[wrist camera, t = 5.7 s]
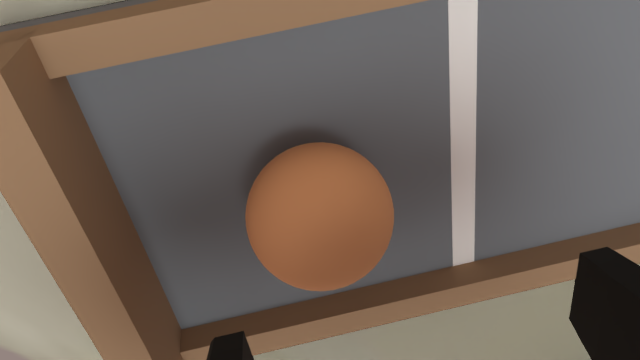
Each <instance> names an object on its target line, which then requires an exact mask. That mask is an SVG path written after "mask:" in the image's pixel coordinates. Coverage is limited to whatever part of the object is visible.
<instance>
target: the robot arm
mask: <svg viewBox="0 0 640 360" xmlns="http://www.w3.org/2000/svg"><path fill="white" fill-rule="evenodd" d="M569 319H570V321H571V323H572V325H573V327H574V328H575V330H576V332H577V334H578V336H579V338H580V340H581V342H582V343H583V345H584V347H585V349H586V350H587V352H588V354H589V356H590V357H591V359H592V360H640V266H639V265H638V264H636V263H634V262H633V261H631V260H629V259H628V258H626V257H624V256H623V255H621V254H619V253H618V252H616V251H614V250H612V249H611V248H609V247H603V248H599V249H595V250H591V251H586V252H582V253H580V254H579V260H578V267H577V273H576V279H575V285H574V292H573V298H572V304H571V311H570V317H569ZM206 360H254V358H253V356H252V353H251V350H250V347H249V344H248V342H247V339H246V336H245V333H244V331H240V332H236V333H232V334H228V335H223V336H219V337H215V338H214V339H213V340H212V341H211V343H210V347H209V351H208V355H207V359H206Z"/></svg>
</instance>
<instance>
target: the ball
mask: <svg viewBox="0 0 640 360" xmlns="http://www.w3.org/2000/svg"><path fill="white" fill-rule="evenodd" d="M245 220H246V230H247V234H248V238H249V241H250V244H251V246H252V249H253V251H254V252H255V254H256V256H257V258H258V259H259V261H260V262H261V263H262V264H263V266H264V267H265V268H266V269H267V270H268V271H269V272H270V273H272V274H273V275H274V276H275V277H277V278H278V279H279V280H281V281H283V282H285V283H287V284H289V285H291V286H293V287H296V288H300V289H304V290H309V291H330V290H336V289H339V288H343V287H346V286H348V285H351V284H353V283H355V282H356V281H358V280H360V279H361V278H363V277H364V276H366V275H367V274H368V273H369V272H370V271H371V270H372V269H373V268H374V267H375V266H376V265H377V264H378V262H379V261H380V260H381V258H382V256H383V255H384V253H385V251H386V250H387V247H388V245H389V242H390V239H391V236H392V232H393V226H394V208H393V202H392V197H391V194H390V191H389V188H388V186H387V184H386V182H385V180H384V179H383V177H382V175H381V174H380V173H379V171H378V170H377V169H376V168H375V166H374V165H373V164H372V163H371V162H370V161H368V160H367V159H366V158H365V157H363V156H362V155H361V154H359V153H357V152H356V151H354V150H352V149H350V148H347V147H344V146H341V145H338V144H333V143H325V142H315V143H306V144H302V145H298V146H295V147H292V148H290V149H288V150H286V151H284V152H282V153H281V154H279V155H277V156H276V157H275V158H274V159H272V160H271V161H270V162H269V163H268V164H267V165H266V166H265V167H264V168H263V169H262V170H261V172H260V173H259V175H258V176H257V178H256V179H255V181H254V183H253V185H252V187H251V190H250V192H249V195H248V199H247V204H246V213H245Z"/></svg>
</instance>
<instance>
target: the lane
mask: <svg viewBox="0 0 640 360" xmlns="http://www.w3.org/2000/svg"><path fill="white" fill-rule="evenodd" d="M315 142H325V143H333V144H338V145H341V146H344V147H347V148H350V149H352V150H354V151H356V152H357V153H359V154H361V155H362V156H363V157H365V158H366V159H367V160H368V161H370V162H371V163H372V164H373V165H374V166H375V168H376V169H377V170H378V171H379V173H380V174H381V175H382V177H383V179H384V180H385V182H386V184H387V186H388V188H389V191H390V194H391V197H392V202H393V208H394V226H393V232H392V236H391V239H390V242H389V245H388V247H387V250H386V251H385V253H384V255H383V256H382V258H381V260H380V261H379V262H378V264H377V265H376V266H375V267H374V268H373V269H372V270H371V271H370V272H369V273H368V274H367V275H366V276H364V277H363V278H361V279H360V280H358V281H356V282H355V283H353V284H351V285H348V286H346V287H343V288H339V289H336V290H330V291H309V290H304V289H300V288H296V287H293V286H291V285H289V284H287V283H285V282H283V281H281V280H279V279H278V278H277V277H275V276H274V275H273V274H272V273H270V272H269V271H268V270H267V269H266V268H265V267H264V266H263V264H262V263H261V262H260V261H259V259H258V258H257V256H256V254H255V252H254V251H253V249H252V246H251V244H250V241H249V238H248V234H247V230H246V220H245V213H246V204H247V199H248V195H249V192H250V190H251V187H252V185H253V183H254V181H255V179H256V178H257V176H258V175H259V173H260V172H261V170H262V169H263V168H264V167H265V166H266V165H267V164H268V163H269V162H270V161H271V160H272V159H274V158H275V157H276V156H277V155H279V154H281V153H282V152H284V151H286V150H288V149H290V148H292V147H295V146H298V145H302V144H306V143H315ZM0 191H1V193H2V195H3V196H4V198H5V199H6V201H7V203H8V204H9V206H10V208H11V209H12V211H13V213H14V214H15V216H16V217H17V219H18V221H19V222H20V224H21V226H22V227H23V229H24V231H25V232H26V234H27V235H28V237H29V239H30V240H31V242H32V244H33V245H34V247H35V248H36V250H37V252H38V253H39V255H40V257H41V258H42V260H43V262H44V263H45V265H46V266H47V268H48V270H49V271H50V273H51V275H52V276H53V278H54V280H55V281H56V283H57V284H58V286H59V288H60V289H61V291H62V293H63V294H64V296H65V298H66V299H67V301H68V302H69V304H70V306H71V307H72V309H73V311H74V312H75V314H76V315H77V317H78V319H79V320H80V322H81V324H82V325H83V327H84V329H85V330H86V332H87V333H88V335H89V337H90V338H91V340H92V342H93V343H94V345H95V347H96V348H97V350H98V351H99V353H100V355H101V356H102V358H103V360H206V359H207V355H208V351H209V347H210V343H211V341H212V340H213V339H214V338H215V337H219V336H223V335H228V334H232V333H236V332H240V331H244V333H245V336H246V339H247V342H248V344H249V347H250V350H251V353H252V356H253V355H257V354H261V353H266V352H270V351H274V350H278V349H282V348H287V347H291V346H295V345H299V344H303V343H308V342H312V341H316V340H320V339H324V338H329V337H333V336H337V335H341V334H346V333H350V332H354V331H358V330H362V329H367V328H371V327H375V326H379V325H383V324H388V323H392V322H396V321H400V320H404V319H409V318H413V317H417V316H421V315H426V314H430V313H434V312H438V311H442V310H447V309H451V308H455V307H459V306H463V305H468V304H472V303H476V302H480V301H484V300H489V299H493V298H497V297H501V296H505V295H510V294H514V293H518V292H522V291H527V290H531V289H535V288H539V287H543V286H548V285H552V284H556V283H560V282H564V281H569V280H573V279H576V273H577V267H578V260H579V254H580V253H582V252H586V251H591V250H595V249H599V248H603V247H609V248H611V249H612V250H614V251H616V252H618V253H619V254H621V255H623V256H624V257H626V258H628V259H629V260H631V261H633V262H634V263H636V264H640V0H127V1H122V2H117V3H112V4H107V5H102V6H98V7H93V8H88V9H83V10H78V11H73V12H68V13H63V14H58V15H53V16H48V17H43V18H38V19H33V20H28V21H23V22H19V23H14V24H9V25H4V26H0Z"/></svg>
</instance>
